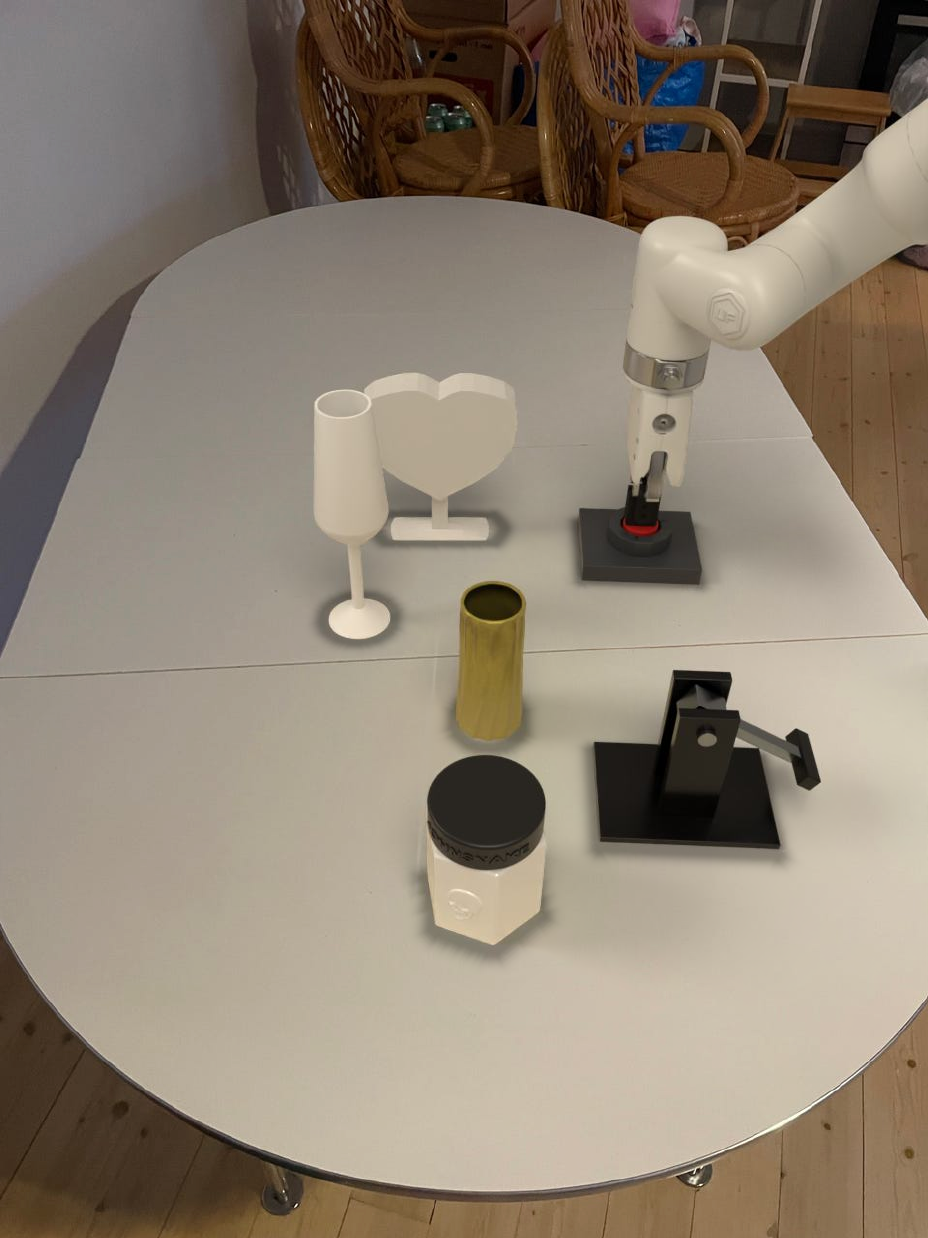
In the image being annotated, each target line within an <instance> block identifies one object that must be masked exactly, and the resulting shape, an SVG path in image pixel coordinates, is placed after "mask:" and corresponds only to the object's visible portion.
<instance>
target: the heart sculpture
mask: <svg viewBox="0 0 928 1238" xmlns="http://www.w3.org/2000/svg"><path fill="white" fill-rule="evenodd" d="M363 393H364V394H366V395H367V396H368V397H369V398H370V399H371V402H372V408H373V415H374V421H375V427H376V433H377V440H378V446H379V452H380V458H381V465H382V470H385V471H386V472H388V473H389V474H391V475H392V476H393V477H395V478H396V479H398V480H400V481H401V482H402V483H404V484H407V485H408V486H410V487H412V488H414V489H416V490H418V491H421V492H422V493H425V495H429V496H430V497H431V516H426V517H425V516H395V517H394V518H393V519H392V522H391V524H390V528H389V529H390V534H391V538H392V540H393V541H487V539H488V537H489V535H490V524H489V522H488V519H487V518H486V517H483V516H482V517H477V516H475V517H473V516H472V517H471V516H469V517H466V516H465V517H464V516H460V517H459V516H457V517H456V516H455V517H453V516H449V511H448V510H449V496H452V495H453V494H455V493H458V492H459V491H461V490H463V489H465V488H467V487H469V486H471V485H473V484H475V483H477V482H478V481H480V480H481V479H483V478H485V477H486V476H487V475H489V474H490V473H492V472H494V471H495V470H496V469H497V468H499V466H500V465H501V464H502V463H503V461H504V460H505V459H506V457H507V456H508V455H509V453H510V452H511V451H512V450H513V448H514V444H515V440H516V437H517V431H518V427H519V420H518V408H517V401H516V393H515V389H514V388H513V387H512V386H511V385H510V384H509V383H507V382H505V380H502V379H498V378H495V377H492V376H489V375H485V374H484V375H483V374H478V373H474V372H472V373H471V372H459V373H456V374H452V375H450V376H448V377H447V378H445V379H442V380H441V381H438V380H435V379H434V378H432V377H431V376H429V375H426V374H424V373H421V372H403V373H398V374H393V375H388V376H385V377H382V378H378V379H376V380H373V381H372V382H371V383H370V384H368V385H367V386H366V387H365V388H364V391H363Z"/></svg>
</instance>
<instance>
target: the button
mask: <svg viewBox="0 0 928 1238" xmlns="http://www.w3.org/2000/svg"><path fill="white" fill-rule="evenodd" d="M623 529H624V530H625V531H626V532H628V533H631V534H633V535H636V536H650V535H653V534H656V533H657V531H658V521H657V524H656V525H655V526H654V527H653V526H627V525H626V524H625V518H624V521H623Z"/></svg>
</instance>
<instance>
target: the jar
mask: <svg viewBox="0 0 928 1238" xmlns="http://www.w3.org/2000/svg"><path fill="white" fill-rule="evenodd" d="M546 809H547V800H546V795H545V791H544V788H543V785H542V784H541V783H540V781H539V779H538V778H537V776H536V775H535V774H534V773H533V772H531V771H530V769H528V768H527V767H525V766H524V765H522V764H521V763H519V762H517V761H516V760H513V759H510V758H508V757H504V756H500V755H495V754H477V755H470V756H466V757H463V758H460V759H458V760H455V761H454V762H452V763H450V764H448V765H447V766H446V767H444V768H442V770H440V772H438V773H437V775H436V776H435V777H434V779H433V780H432V782H431V784H430V786H429V788H428V792H427V799H426V804H425V826H426V827H425V828H426V829H425V831H426V868H427V869H426V870H427V881H428V887H429V893H430V900H431V906H432V913H433V920H434V924H435V925H436V927H440V928H442V929H445V930H448V931H451V932H453V933H457V934H460V935H463V936H465V937H467V938H471V939H474V940H477V941H480V942H483V943H486V944H488V945H491V946H494V945H497V944H498V943H500V941H502V940H503V939H505V938H506V937H508V936H509V935H510V934H511V933H513V932H514V931H515V930H517V929H518V928H520V927H522V925H524V924H525V923H527V921H530V919H532V918H533V917H534V916H536V915H537V914H539V913H540V912H541V907H542V906H541V905H542V898H543V897H542V895H543V886H544V876H545V866H546V858H547V857H546V856H547V847H548V840H547V836H546V833H545V832H546V831H545V828H544V827H545V819H546V818H545V817H546Z"/></svg>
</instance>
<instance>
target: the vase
mask: <svg viewBox="0 0 928 1238" xmlns="http://www.w3.org/2000/svg"><path fill="white" fill-rule="evenodd" d="M459 604H460V605H459V607H460V608H459V636H458V637H459V641H458V642H459V647H458V648H459V649H458V681H457V692H456V705H455V720H456V722H457V723H458V726H459V729H460V730H461V731H462V732H464V733H465V734H467V735H468V736H470V738H472V739H478V740H483V741H486V742H491V741H494V740H501V739H502V740H503V739H506V738H507V737H509V736H510V735H511V734H513V733H514V732H515V731H517V730H519V729H520V727H521V725H522V717H523V696H524V695H523V692H524V691H523V690H524V689H523V687H524V684H523V683H524V676H523V675H524V674H523V673H524V672H523V670H524V647H525V635H526V634H525V631H526V610H527V609H526V607H527V600H526V597H525V595H524V594H523V592H522V591H521V590H520V589H519V588H518V587H516V586H515V585H513V584H512V583H508V582H504V581H501V580H485V581H481V582H478V583H474V584H472V585H471V586H469V587H468V588H467V589H465V590H464V592H463V593H462V595H461V598H460V603H459Z"/></svg>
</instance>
